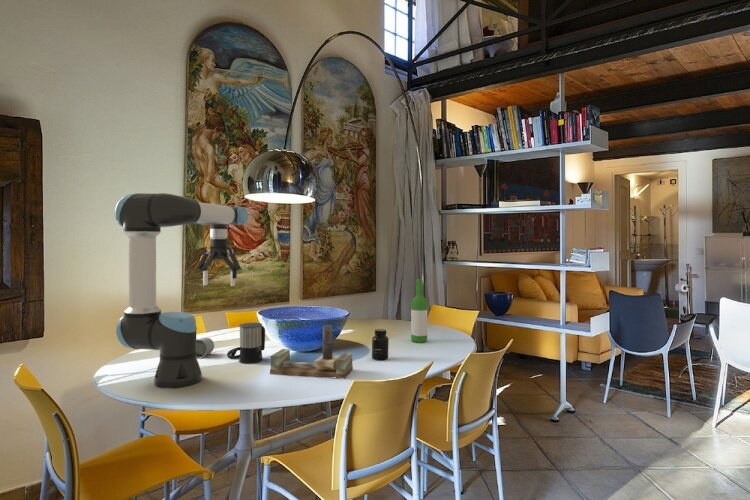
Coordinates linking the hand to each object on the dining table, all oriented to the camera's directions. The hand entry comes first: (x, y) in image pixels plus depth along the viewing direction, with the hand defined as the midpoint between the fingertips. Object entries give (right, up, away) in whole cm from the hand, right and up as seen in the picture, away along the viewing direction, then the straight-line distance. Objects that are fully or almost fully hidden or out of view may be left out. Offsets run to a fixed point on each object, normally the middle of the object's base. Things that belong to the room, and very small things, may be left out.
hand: (219, 285), depth 211 cm
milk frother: (+17, -29, -21) cm, 39 cm away
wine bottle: (+92, -28, +14) cm, 97 cm away
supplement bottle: (+73, -29, -19) cm, 81 cm away
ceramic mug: (-3, -29, -15) cm, 33 cm away
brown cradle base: (+47, -29, -38) cm, 67 cm away
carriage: (+53, -27, -39) cm, 72 cm away
